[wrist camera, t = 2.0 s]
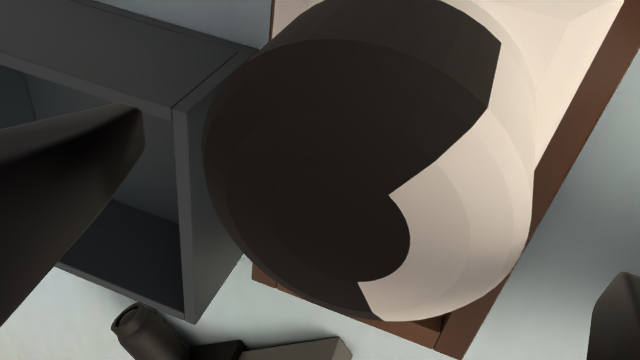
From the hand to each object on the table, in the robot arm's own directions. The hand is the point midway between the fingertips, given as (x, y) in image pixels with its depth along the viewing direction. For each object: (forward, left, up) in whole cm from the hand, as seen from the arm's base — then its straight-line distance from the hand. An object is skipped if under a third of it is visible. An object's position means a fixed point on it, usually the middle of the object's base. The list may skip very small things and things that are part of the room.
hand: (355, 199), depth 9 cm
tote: (+14, +10, -11) cm, 20 cm away
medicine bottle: (0, 0, -11) cm, 11 cm away
